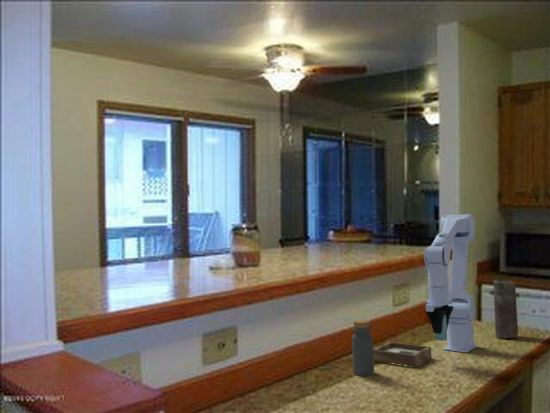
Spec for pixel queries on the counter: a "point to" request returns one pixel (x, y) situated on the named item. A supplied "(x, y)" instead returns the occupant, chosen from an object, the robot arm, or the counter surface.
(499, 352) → the counter surface
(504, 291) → the candle
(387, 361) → the box
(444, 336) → the peg
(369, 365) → the bottle
